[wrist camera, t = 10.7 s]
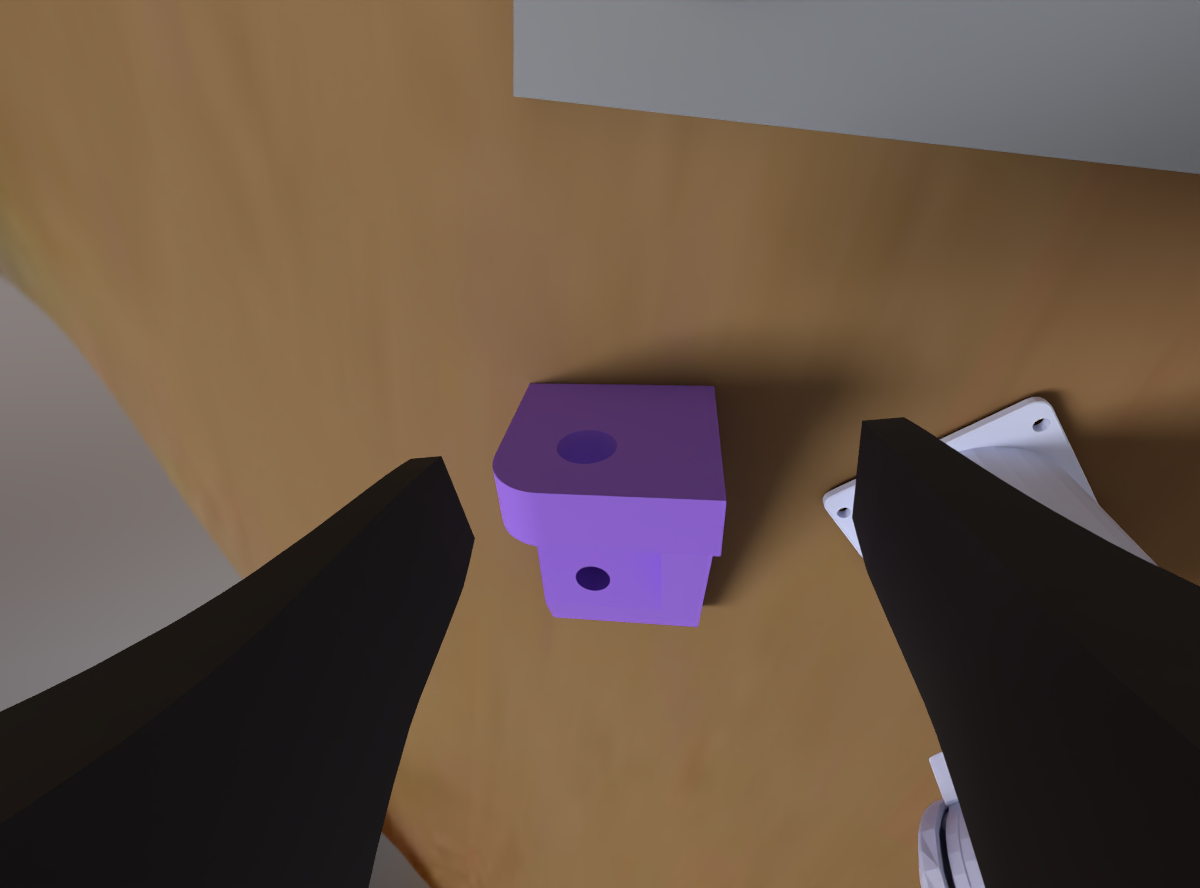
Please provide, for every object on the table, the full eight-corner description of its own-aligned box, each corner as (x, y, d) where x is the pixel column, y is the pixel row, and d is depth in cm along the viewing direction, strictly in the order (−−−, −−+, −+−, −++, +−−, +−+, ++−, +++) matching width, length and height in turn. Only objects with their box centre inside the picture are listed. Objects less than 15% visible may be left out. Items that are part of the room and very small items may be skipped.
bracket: (532, 379, 21) (477, 490, 15) (713, 381, 20) (726, 500, 15) (559, 592, 28) (528, 724, 22) (697, 600, 27) (701, 741, 21)
